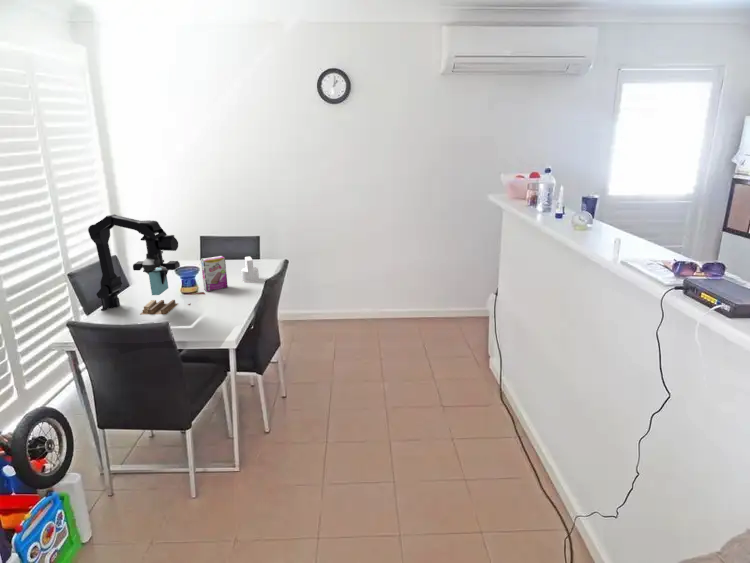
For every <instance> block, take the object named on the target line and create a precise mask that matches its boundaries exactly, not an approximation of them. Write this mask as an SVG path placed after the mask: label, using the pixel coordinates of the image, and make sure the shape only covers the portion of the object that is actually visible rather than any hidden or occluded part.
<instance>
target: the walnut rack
mask: <svg viewBox="0 0 750 563" xmlns="http://www.w3.org/2000/svg"><path fill="white" fill-rule="evenodd" d="M156 303H157V304H156V305H154V306H153V307H152V308H150V309H149V313H143V311H141V312H140V313H139V315H140V316H141V315H147V316H148V315H167V314H169V312H171V311H173V309H174V308H175V307H177V306H178V305H179V304H180V303H176V300H175V299H171V301H169V302H168V303H165V300H164V299H161V300H159V301H158V302H156Z"/></svg>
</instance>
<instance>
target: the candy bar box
mask: <svg viewBox="0 0 750 563" xmlns="http://www.w3.org/2000/svg"><path fill="white" fill-rule="evenodd" d="M200 264H201V272H202V283H203V289H204V290H205V292H212V291H216V290H223V289H228V288H227V287H228V276H227V275H228V274H227V265H226V264H227V263H226V258H225V256H223V255H217V256H213V257H211V256H210V257H204V258H201V259H200ZM222 288H223V289H222Z"/></svg>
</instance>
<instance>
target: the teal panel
mask: <svg viewBox="0 0 750 563" xmlns="http://www.w3.org/2000/svg"><path fill="white" fill-rule="evenodd" d="M160 270H162V268H156V269H155V270H154V271H152V272H150V273H149V275H148V279H149V284H150V285H149V286H150V291H151V296H160V295H161V294H163V293H164V292H165V291H167V290H168V289H169V281H168V276H167V275H168V274H167V275H166V279H165V282H164V284H162V280H161V273H160Z"/></svg>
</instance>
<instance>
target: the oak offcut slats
mask: <svg viewBox="0 0 750 563" xmlns="http://www.w3.org/2000/svg"><path fill="white" fill-rule="evenodd" d="M157 303H158V302H157V300H155V299H152V300H150V301H148V303H146V304H145V305H144V306H143V309H142V311H141V312H143V313H149V309H150V308H152V307H153V306H154V305H156V304H157Z"/></svg>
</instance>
